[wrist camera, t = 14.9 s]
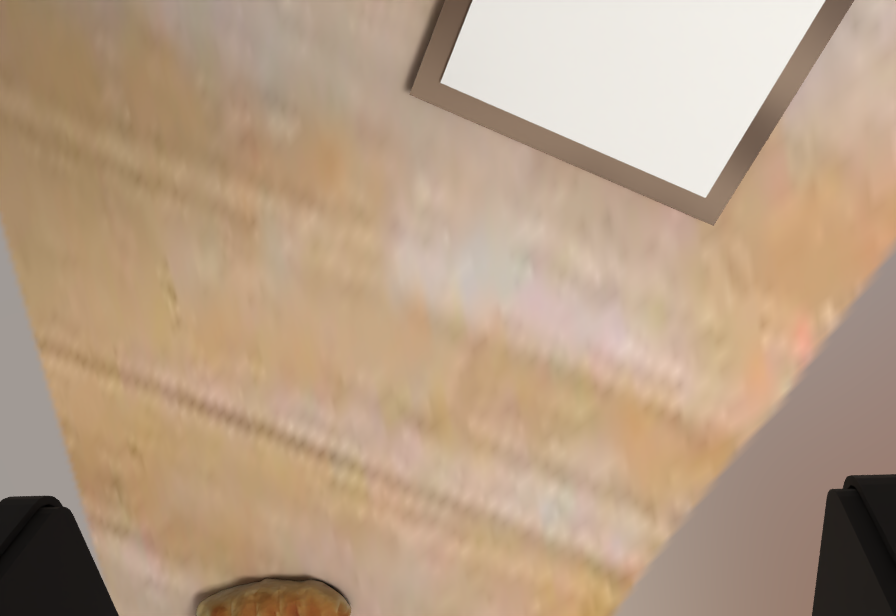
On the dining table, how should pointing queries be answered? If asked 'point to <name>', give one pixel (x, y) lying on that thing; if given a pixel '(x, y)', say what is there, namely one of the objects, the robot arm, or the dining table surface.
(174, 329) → the dining table surface
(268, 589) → the pastry
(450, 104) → the board
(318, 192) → the dining table surface
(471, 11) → the paper
